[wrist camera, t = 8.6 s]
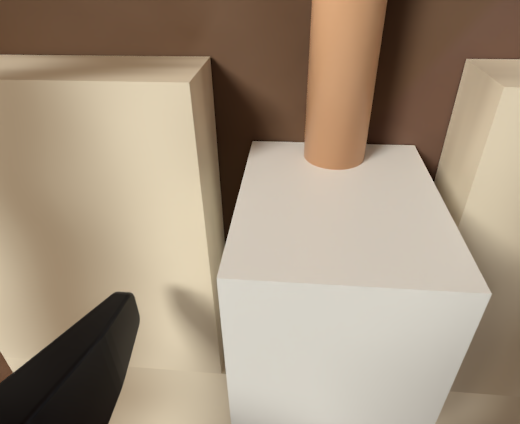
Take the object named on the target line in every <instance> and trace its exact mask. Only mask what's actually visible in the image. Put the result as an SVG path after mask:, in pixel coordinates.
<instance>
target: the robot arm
mask: <svg viewBox="0 0 520 424" xmlns="http://www.w3.org/2000/svg"><path fill="white" fill-rule="evenodd" d="M139 324H140V315H139V311H138V307H137V304H136V300H135V296H134V294H133V293H131V292H119V291H118V292H114V293H113V294H111V295H110V296H109V297H108V298H106V299H105V300H104V301H103V302H101V303H100V304H99V305H98V306H96V307H95V308H94V309H92V310H91V311H90V312H89V313H87V314H86V315H85V316H84V317H82V318H81V319H80V320H79V321H77V322H76V323H75V324H74V325H72V326H71V327H70V328H69V329H67V330H66V331H65V332H64V333H62V334H61V335H60V336H59V337H57V338H56V339H55V340H54V341H52V342H51V343H50V344H49V345H47V346H46V347H45V348H44V349H42V350H41V351H40V352H39V353H37V354H36V355H35V356H34V357H32V358H31V359H30V360H29V361H27V362H26V363H25V364H23V365H22V366H21V367H20V368H18V369H17V370H16V371H15V372H13V373H12V374H11V375H10V376H8V377H7V378H6V379H5V380H3V381H2V382H1V383H0V424H109V421H110V419H111V416H112V413H113V411H114V408H115V406H116V403H117V400H118V398H119V395H120V392H121V390H122V387H123V384H124V380H125V377H126V373H127V369H128V366H129V362H130V358H131V354H132V351H133V347H134V343H135V340H136V336H137V332H138V328H139Z"/></svg>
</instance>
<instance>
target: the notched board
mask: <svg viewBox="0 0 520 424" xmlns="http://www.w3.org/2000/svg"><path fill="white" fill-rule="evenodd" d="M434 184H435V186H436V188H437V190H438V191H439V193H440V195H441V197H442V199H443V201H444V203H445V205H446V207H447V209H448V211H449V213H450V215H451V216H452V218H453V220H454V222H455V224H456V226H457V228H458V230H459V232H460V234H461V236H462V238H463V239H464V241H465V243H466V245H467V247H468V249H469V251H470V253H471V255H472V257H473V259H474V261H475V263H476V264H477V266H478V268H479V270H480V272H481V274H482V276H483V278H484V280H485V282H486V284H487V286H488V287H489V289H490V291H491V293H492V295H491V297H490V299H489V302H488V304H487V306H486V309H485V311H484V313H483V315H482V318H481V320H480V322H479V325H478V327H477V329H476V331H475V334H474V336H473V338H472V341H471V343H470V345H469V348H468V350H467V352H466V354H465V357H464V359H463V361H462V364H461V366H460V368H459V370H458V373H457V375H456V377H455V380H454V382H453V384H452V386H451V389H450V391H449V393H448V396H447V398H446V400H445V402H444V405H443V407H442V409H441V412H440V414H439V416H438V418H437V421H436V423H435V424H520V59H466V62H465V66H464V70H463V74H462V78H461V81H460V85H459V89H458V93H457V97H456V100H455V104H454V108H453V112H452V116H451V119H450V123H449V127H448V131H447V135H446V138H445V142H444V146H443V150H442V154H441V157H440V161H439V165H438V169H437V173H436V176H435V180H434ZM224 248H225V237H224V225H223V212H222V199H221V187H220V174H219V162H218V149H217V136H216V124H215V111H214V98H213V86H212V73H211V60H210V57H200V56H89V55H0V351H1V353H2V355H3V356H4V358H5V360H6V361H7V363H8V365H9V366H10V368H11V370H12V371H13V372H15V371H16V370H17V369H18V368H20V367H21V366H22V365H23V364H25V363H26V362H27V361H29V360H30V359H31V358H32V357H34V356H35V355H36V354H37V353H39V352H40V351H41V350H42V349H44V348H45V347H46V346H47V345H49V344H50V343H51V342H52V341H54V340H55V339H56V338H57V337H59V336H60V335H61V334H62V333H64V332H65V331H66V330H67V329H69V328H70V327H71V326H72V325H74V324H75V323H76V322H77V321H79V320H80V319H81V318H82V317H84V316H85V315H86V314H87V313H89V312H90V311H91V310H92V309H94V308H95V307H96V306H98V305H99V304H100V303H101V302H103V301H104V300H105V299H106V298H108V297H109V296H110V295H111V294H113V293H114V292H118V291H119V292H131V293H133V294H134V296H135V300H136V304H137V307H138V311H139V315H140V324H139V328H138V332H137V336H136V340H135V343H134V347H133V351H132V354H131V358H130V362H129V366H128V369H127V373H126V377H125V380H124V384H123V387H122V390H121V392H120V395H119V398H118V400H117V403H116V406H115V408H114V411H113V413H112V416H111V419H110V421H109V424H231V418H230V408H229V398H228V388H227V378H226V368H225V358H224V348H223V338H222V328H221V318H220V309H219V299H218V289H217V279H216V278H217V274H218V271H219V267H220V263H221V259H222V255H223V251H224Z"/></svg>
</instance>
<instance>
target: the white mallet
mask: <svg viewBox="0 0 520 424" xmlns="http://www.w3.org/2000/svg"><path fill="white" fill-rule="evenodd" d="M386 7H387V0H312V10H311V29H310V48H309V67H308V86H307V104H306V123H305V142H270V141H252V145H251V149H250V152H249V156H248V160H247V164H246V168H245V171H244V175H243V179H242V183H241V187H240V190H239V194H238V198H237V202H236V206H235V210H234V213H233V217H232V221H231V225H230V229H229V232H228V236H227V240H226V244H225V248H224V251H223V255H222V259H221V263H220V267H219V271H218V274H217V278H216V279H217V289H218V299H219V309H220V318H221V328H222V338H223V348H224V358H225V368H226V378H227V388H228V398H229V408H230V418H231V424H435V423H436V421H437V418H438V416H439V414H440V412H441V409H442V407H443V405H444V402H445V400H446V398H447V396H448V393H449V391H450V389H451V386H452V384H453V382H454V380H455V377H456V375H457V373H458V370H459V368H460V366H461V364H462V361H463V359H464V357H465V354H466V352H467V350H468V348H469V345H470V343H471V341H472V338H473V336H474V334H475V331H476V329H477V327H478V325H479V322H480V320H481V318H482V315H483V313H484V311H485V309H486V306H487V304H488V302H489V299H490V297H491V295H492V293H491V291H490V289H489V287H488V286H487V284H486V282H485V280H484V278H483V276H482V274H481V272H480V270H479V268H478V266H477V264H476V263H475V261H474V259H473V257H472V255H471V253H470V251H469V249H468V247H467V245H466V243H465V241H464V239H463V238H462V236H461V234H460V232H459V230H458V228H457V226H456V224H455V222H454V220H453V218H452V216H451V215H450V213H449V211H448V209H447V207H446V205H445V203H444V201H443V199H442V197H441V195H440V193H439V191H438V190H437V188H436V186H435V184H434V182H433V180H432V178H431V176H430V174H429V172H428V170H427V168H426V167H425V165H424V163H423V161H422V159H421V157H420V155H419V153H418V151H417V149H416V147H415V145H380V144H366V143H367V136H368V129H369V122H370V116H371V109H372V102H373V95H374V88H375V82H376V75H377V68H378V61H379V54H380V48H381V41H382V34H383V27H384V20H385V14H386Z"/></svg>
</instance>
